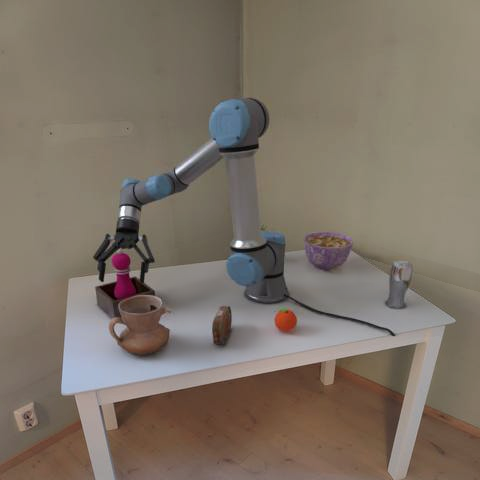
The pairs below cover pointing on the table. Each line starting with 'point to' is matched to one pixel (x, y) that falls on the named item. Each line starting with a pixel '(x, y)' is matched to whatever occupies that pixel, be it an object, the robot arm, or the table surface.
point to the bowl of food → (327, 249)
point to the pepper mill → (122, 275)
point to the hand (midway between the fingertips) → (121, 281)
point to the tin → (222, 325)
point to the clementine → (285, 320)
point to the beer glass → (399, 283)
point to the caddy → (111, 303)
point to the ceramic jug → (141, 325)
